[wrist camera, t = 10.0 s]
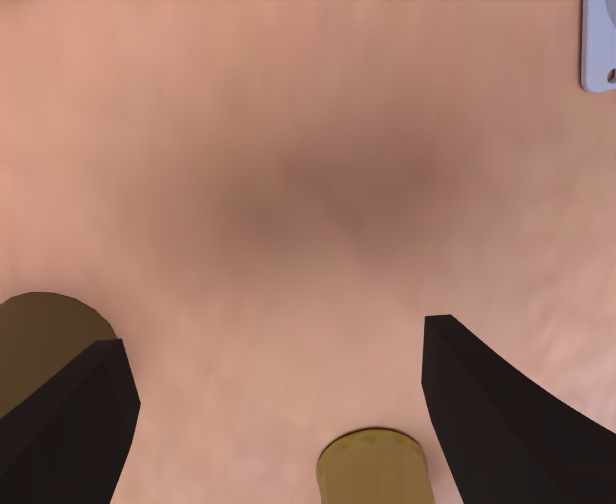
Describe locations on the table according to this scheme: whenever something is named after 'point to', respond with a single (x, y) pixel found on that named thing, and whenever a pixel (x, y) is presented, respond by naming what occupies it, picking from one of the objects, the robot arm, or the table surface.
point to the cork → (42, 341)
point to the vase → (374, 470)
